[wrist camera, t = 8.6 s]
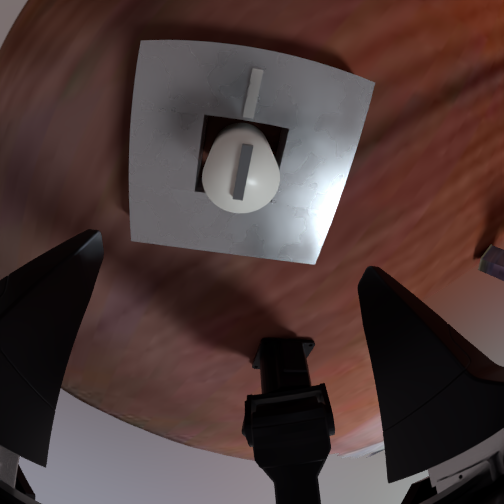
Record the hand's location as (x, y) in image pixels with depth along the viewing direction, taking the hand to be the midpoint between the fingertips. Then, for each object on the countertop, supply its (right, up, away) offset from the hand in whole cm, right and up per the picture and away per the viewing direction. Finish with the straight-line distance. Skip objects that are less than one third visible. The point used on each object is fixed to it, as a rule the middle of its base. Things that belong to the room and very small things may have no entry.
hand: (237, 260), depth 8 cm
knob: (0, +7, +9) cm, 12 cm away
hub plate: (0, +7, +9) cm, 12 cm away
